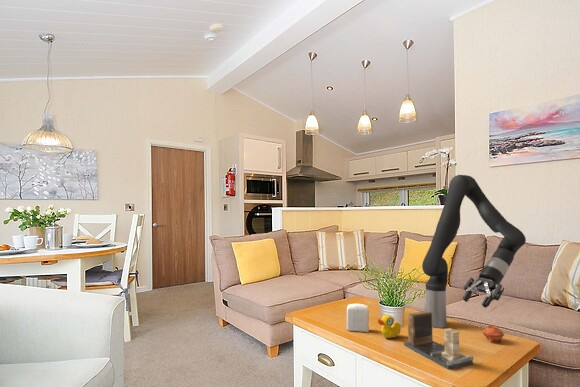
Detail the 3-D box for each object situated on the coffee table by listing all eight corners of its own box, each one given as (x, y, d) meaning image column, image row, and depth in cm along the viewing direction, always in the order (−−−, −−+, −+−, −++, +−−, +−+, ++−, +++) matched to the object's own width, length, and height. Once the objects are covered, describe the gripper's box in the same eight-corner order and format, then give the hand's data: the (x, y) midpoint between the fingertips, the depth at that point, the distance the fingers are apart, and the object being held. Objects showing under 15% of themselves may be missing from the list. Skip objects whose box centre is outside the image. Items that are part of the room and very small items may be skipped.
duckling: (381, 341, 148) (381, 318, 148) (374, 337, 153) (374, 314, 153) (403, 338, 151) (403, 315, 152) (396, 334, 157) (395, 311, 157)
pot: (503, 345, 142) (498, 329, 143) (483, 345, 147) (478, 329, 149) (507, 339, 148) (503, 323, 149) (488, 339, 153) (483, 323, 154)
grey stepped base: (404, 345, 143) (404, 338, 144) (426, 341, 148) (426, 334, 148) (448, 369, 122) (448, 362, 122) (473, 364, 126) (473, 356, 126)
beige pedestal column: (441, 356, 129) (441, 329, 130) (451, 354, 131) (451, 327, 132) (452, 361, 125) (451, 333, 125) (462, 359, 127) (461, 331, 127)
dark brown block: (408, 342, 142) (407, 313, 143) (427, 339, 146) (426, 310, 147) (414, 345, 139) (413, 315, 140) (433, 342, 143) (432, 313, 143)
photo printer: (368, 329, 163) (368, 303, 163) (369, 332, 158) (369, 305, 159) (346, 328, 164) (346, 302, 165) (346, 331, 160) (346, 304, 161)
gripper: (473, 262, 144) (453, 292, 139) (506, 268, 131) (485, 301, 126) (483, 274, 146) (463, 304, 141) (516, 281, 132) (496, 314, 128)
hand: (474, 303), depth 133 cm, fingers open, 8 cm apart
